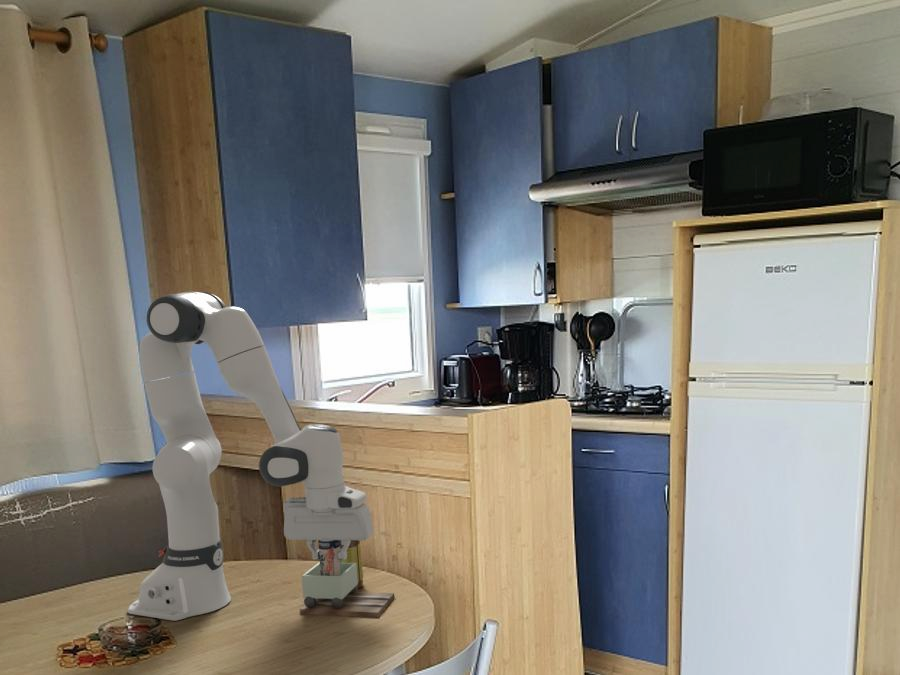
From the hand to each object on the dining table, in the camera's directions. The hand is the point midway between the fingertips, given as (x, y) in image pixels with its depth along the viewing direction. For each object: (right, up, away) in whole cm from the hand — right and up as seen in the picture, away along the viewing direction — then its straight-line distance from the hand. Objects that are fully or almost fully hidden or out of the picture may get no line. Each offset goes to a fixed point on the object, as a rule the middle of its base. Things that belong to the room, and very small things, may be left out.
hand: (329, 558), depth 165 cm
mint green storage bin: (0, -9, 0) cm, 9 cm away
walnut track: (+4, -10, -1) cm, 11 cm away
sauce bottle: (+3, -10, +11) cm, 15 cm away
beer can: (0, -7, 0) cm, 7 cm away
